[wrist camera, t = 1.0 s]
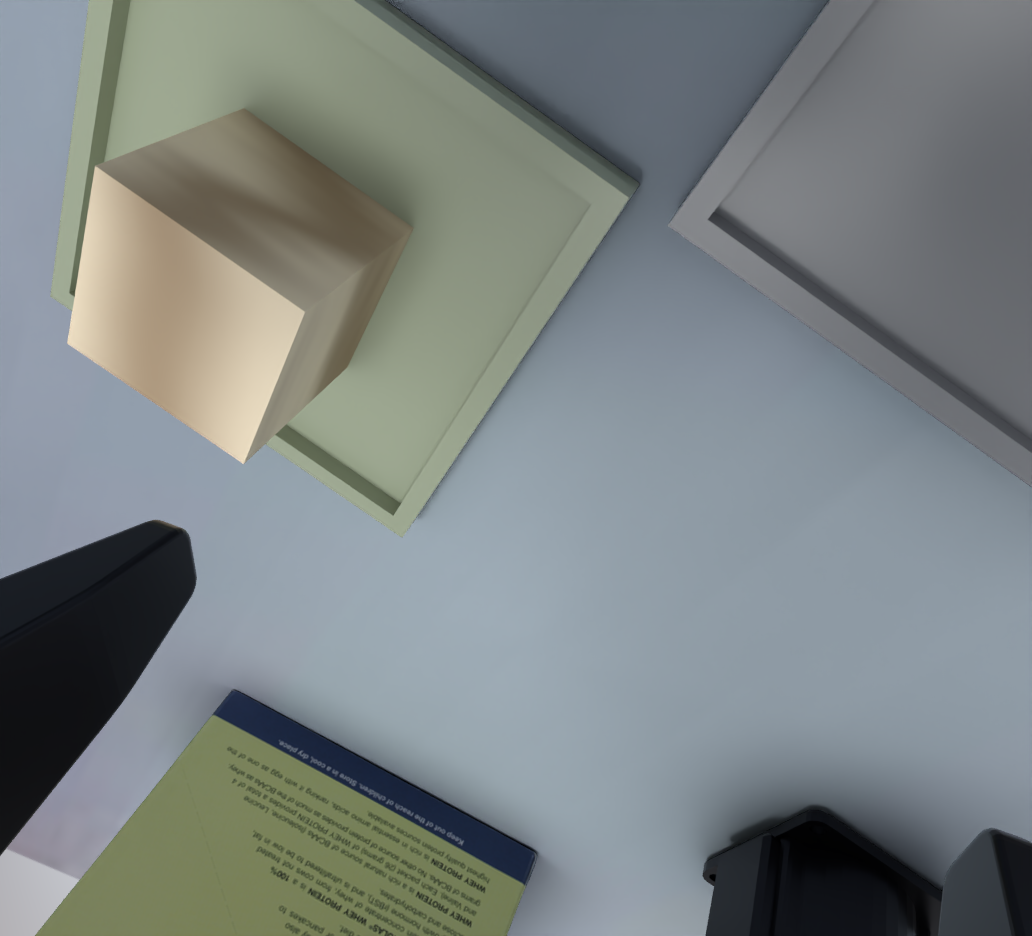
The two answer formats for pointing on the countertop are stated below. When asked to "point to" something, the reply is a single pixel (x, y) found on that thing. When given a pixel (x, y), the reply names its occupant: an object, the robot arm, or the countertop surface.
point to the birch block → (229, 276)
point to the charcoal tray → (896, 204)
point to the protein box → (292, 848)
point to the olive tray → (386, 179)
